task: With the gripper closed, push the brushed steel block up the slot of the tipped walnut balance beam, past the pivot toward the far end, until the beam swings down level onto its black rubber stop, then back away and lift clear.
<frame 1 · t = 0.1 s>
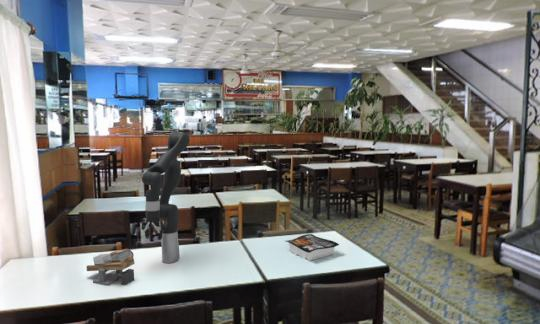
hand: (153, 238, 206), 17 cm above the table, tool pointing down, fingers open, 8 cm apart
balance beam: (109, 264, 195), point 8 cm above the table, hinge at 10.6°, touching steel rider
food packaging: (311, 254, 230), on the table
pivot stand: (111, 278, 196), on the table
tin: (120, 265, 215), on the table
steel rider: (103, 265, 197), point 7 cm above the table, tilted 11°, touching balance beam
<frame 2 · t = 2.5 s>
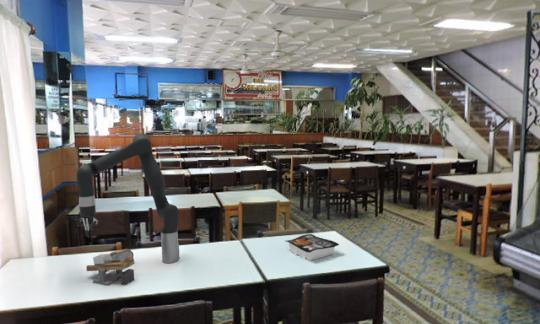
hand: (89, 236, 199), 21 cm above the table, tool pointing down, fingers closed
nothing on the table moved.
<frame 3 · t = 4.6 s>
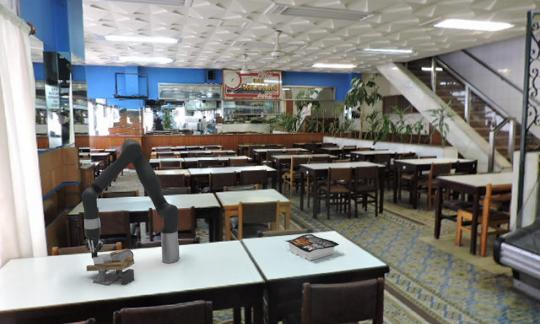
hand: (94, 258, 200), 9 cm above the table, tool pointing down, fingers closed
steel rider: (103, 265, 197), point 7 cm above the table, tilted 11°, touching balance beam, gripper
everything else where it was.
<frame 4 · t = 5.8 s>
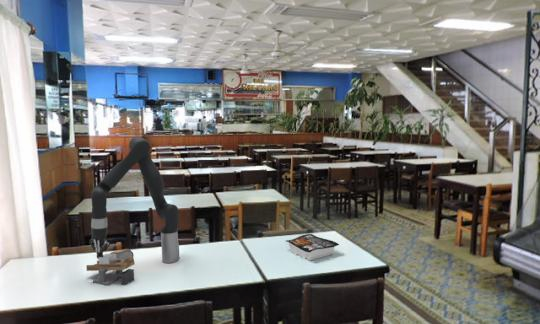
hand: (99, 258, 197), 10 cm above the table, tool pointing down, fingers closed
balance beam: (110, 264, 195), point 8 cm above the table, hinge at 9.7°, touching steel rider
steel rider: (108, 265, 195), point 7 cm above the table, tilted 10°, touching balance beam, gripper
everything else where it was.
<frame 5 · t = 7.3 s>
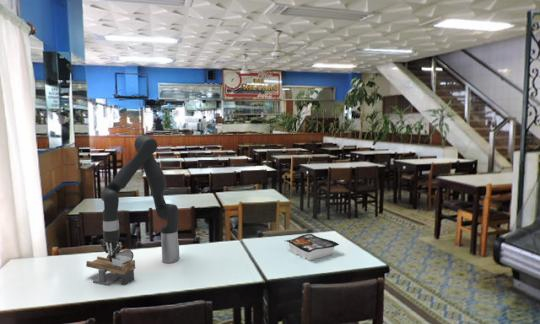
hand: (112, 261, 194), 10 cm above the table, tool pointing down, fingers closed
balance beam: (110, 264, 195), point 8 cm above the table, hinge at -0.7°, touching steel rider
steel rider: (121, 267, 192), point 7 cm above the table, touching balance beam, gripper
everything else where it was.
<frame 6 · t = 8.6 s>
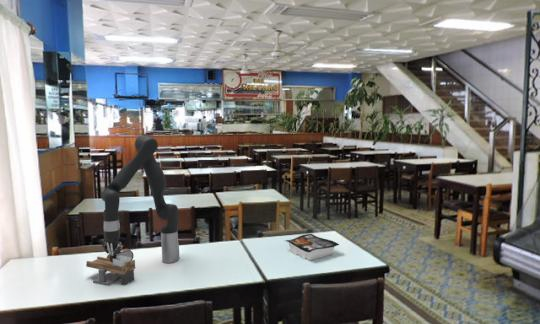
hand: (113, 261, 194), 10 cm above the table, tool pointing down, fingers closed
nothing on the table moved.
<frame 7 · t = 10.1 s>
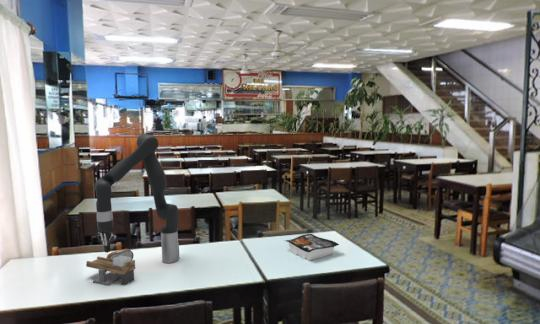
hand: (107, 251, 195), 14 cm above the table, tool pointing down, fingers closed
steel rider: (122, 267, 192), point 7 cm above the table, touching balance beam
everything else where it was.
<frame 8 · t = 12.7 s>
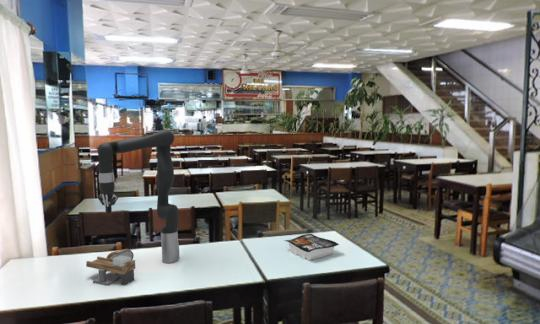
hand: (108, 213, 203), 32 cm above the table, tool pointing down, fingers closed
nothing on the table moved.
at the end: balance beam at -1° (first picture: +11°); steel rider 1.1 cm from the target spot on the balance beam, point 1.4 cm above the balance beam's base; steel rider touching balance beam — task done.
